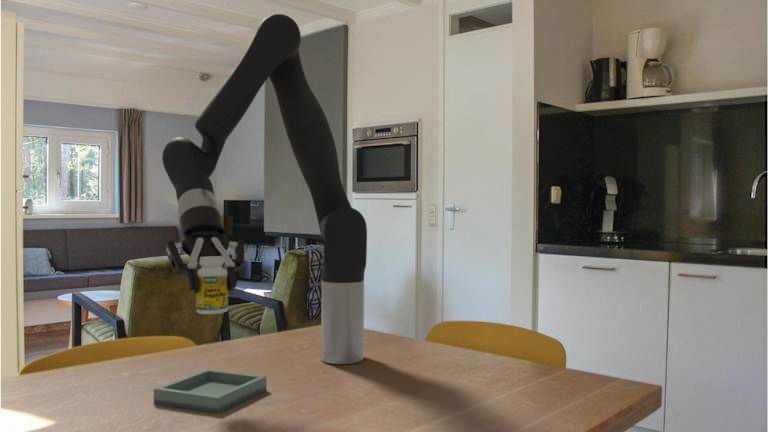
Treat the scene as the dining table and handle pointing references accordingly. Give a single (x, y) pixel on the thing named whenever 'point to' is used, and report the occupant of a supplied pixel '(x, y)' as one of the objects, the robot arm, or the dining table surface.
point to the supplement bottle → (212, 286)
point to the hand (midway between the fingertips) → (214, 288)
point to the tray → (210, 390)
